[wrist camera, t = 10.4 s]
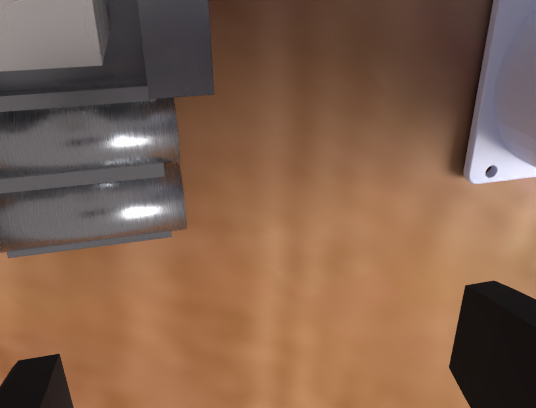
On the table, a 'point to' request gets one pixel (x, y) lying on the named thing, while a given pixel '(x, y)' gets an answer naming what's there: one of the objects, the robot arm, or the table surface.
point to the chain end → (103, 135)
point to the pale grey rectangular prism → (53, 33)
